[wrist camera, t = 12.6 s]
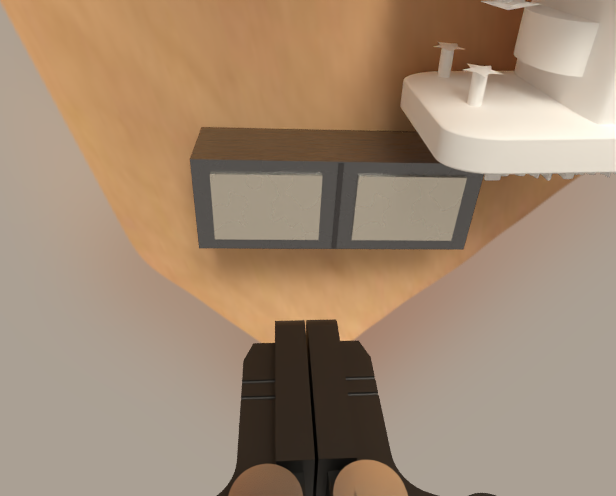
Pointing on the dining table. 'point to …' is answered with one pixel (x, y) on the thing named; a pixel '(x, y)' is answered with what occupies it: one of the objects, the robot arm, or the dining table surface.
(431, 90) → the cable organizer
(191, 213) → the dining table surface
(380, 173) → the block
